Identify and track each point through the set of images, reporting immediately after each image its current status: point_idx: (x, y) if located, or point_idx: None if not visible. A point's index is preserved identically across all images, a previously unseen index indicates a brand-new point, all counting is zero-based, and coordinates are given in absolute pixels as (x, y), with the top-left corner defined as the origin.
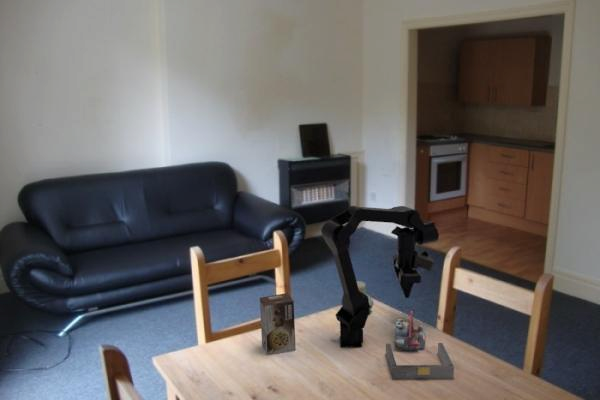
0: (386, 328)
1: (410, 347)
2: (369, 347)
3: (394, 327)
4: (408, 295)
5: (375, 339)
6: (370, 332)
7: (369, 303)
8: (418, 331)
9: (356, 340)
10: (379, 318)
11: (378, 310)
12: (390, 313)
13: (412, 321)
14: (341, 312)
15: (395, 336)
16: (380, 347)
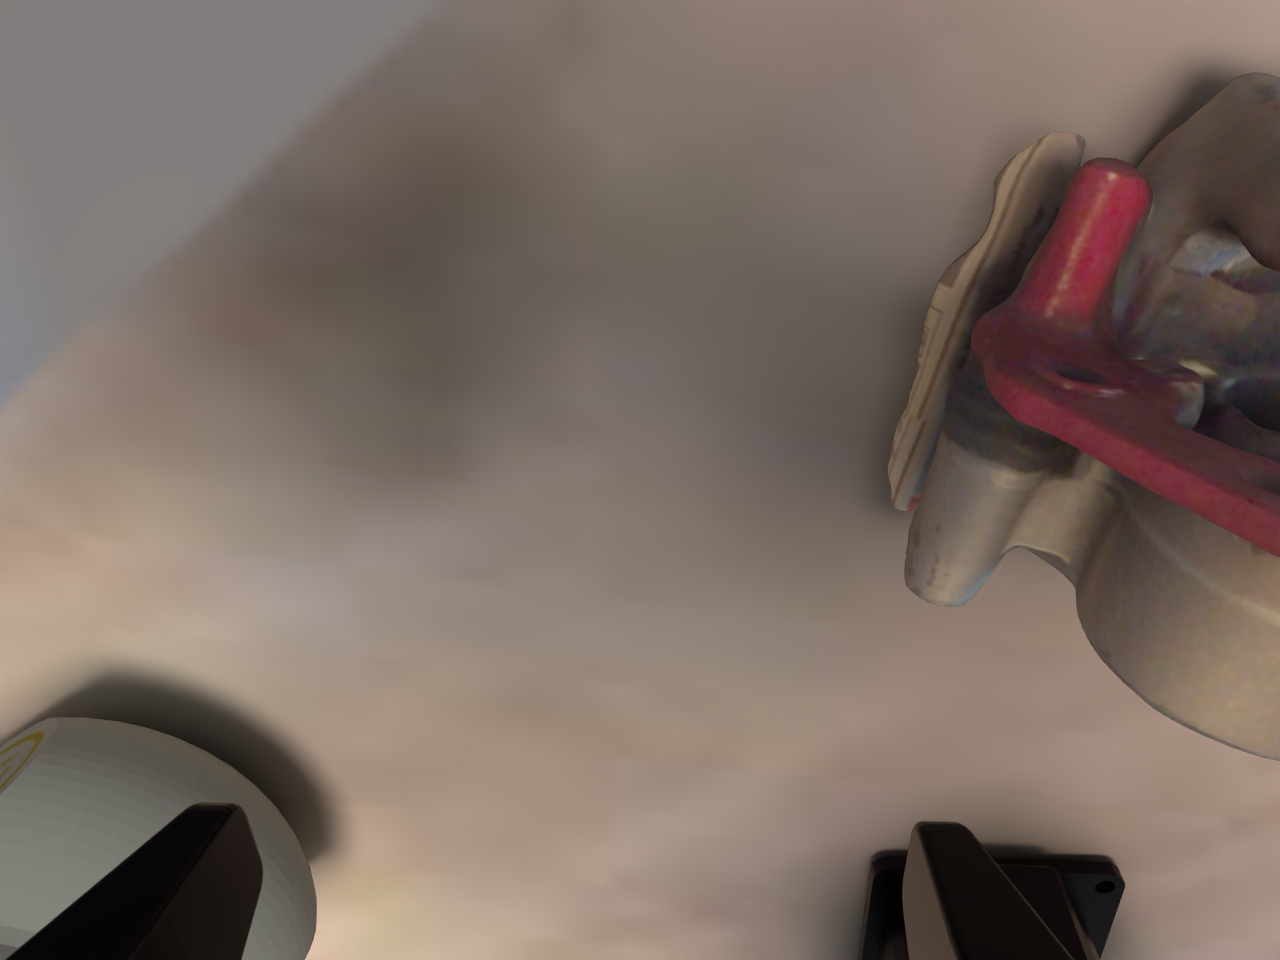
0: (632, 570)
1: None
2: (1133, 794)
3: (937, 603)
4: (1026, 931)
5: (942, 721)
6: (745, 747)
7: None
8: (1142, 216)
9: (1094, 957)
10: (320, 613)
11: (56, 595)
12: (111, 457)
13: (1146, 414)
14: None
15: (914, 501)
16: None
